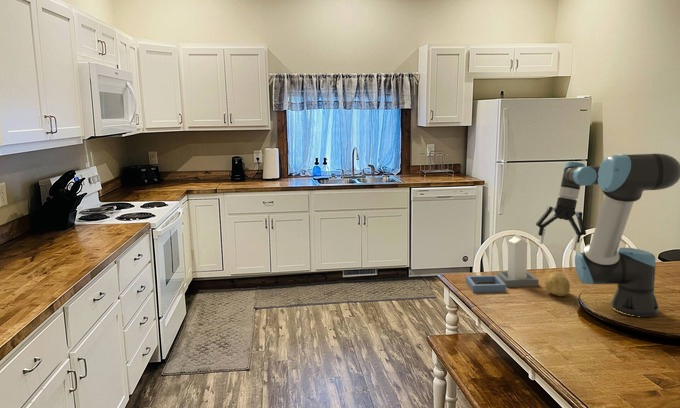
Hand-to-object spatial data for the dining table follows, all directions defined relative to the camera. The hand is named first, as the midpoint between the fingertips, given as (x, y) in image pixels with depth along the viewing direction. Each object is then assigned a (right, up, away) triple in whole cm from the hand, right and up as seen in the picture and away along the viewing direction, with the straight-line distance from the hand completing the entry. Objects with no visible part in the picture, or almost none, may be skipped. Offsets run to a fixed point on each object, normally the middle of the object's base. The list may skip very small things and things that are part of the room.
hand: (556, 246), depth 205 cm
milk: (-12, -17, +13) cm, 25 cm away
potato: (-2, -20, -5) cm, 20 cm away
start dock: (-12, -17, +13) cm, 25 cm away
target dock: (-28, -19, +8) cm, 35 cm away
